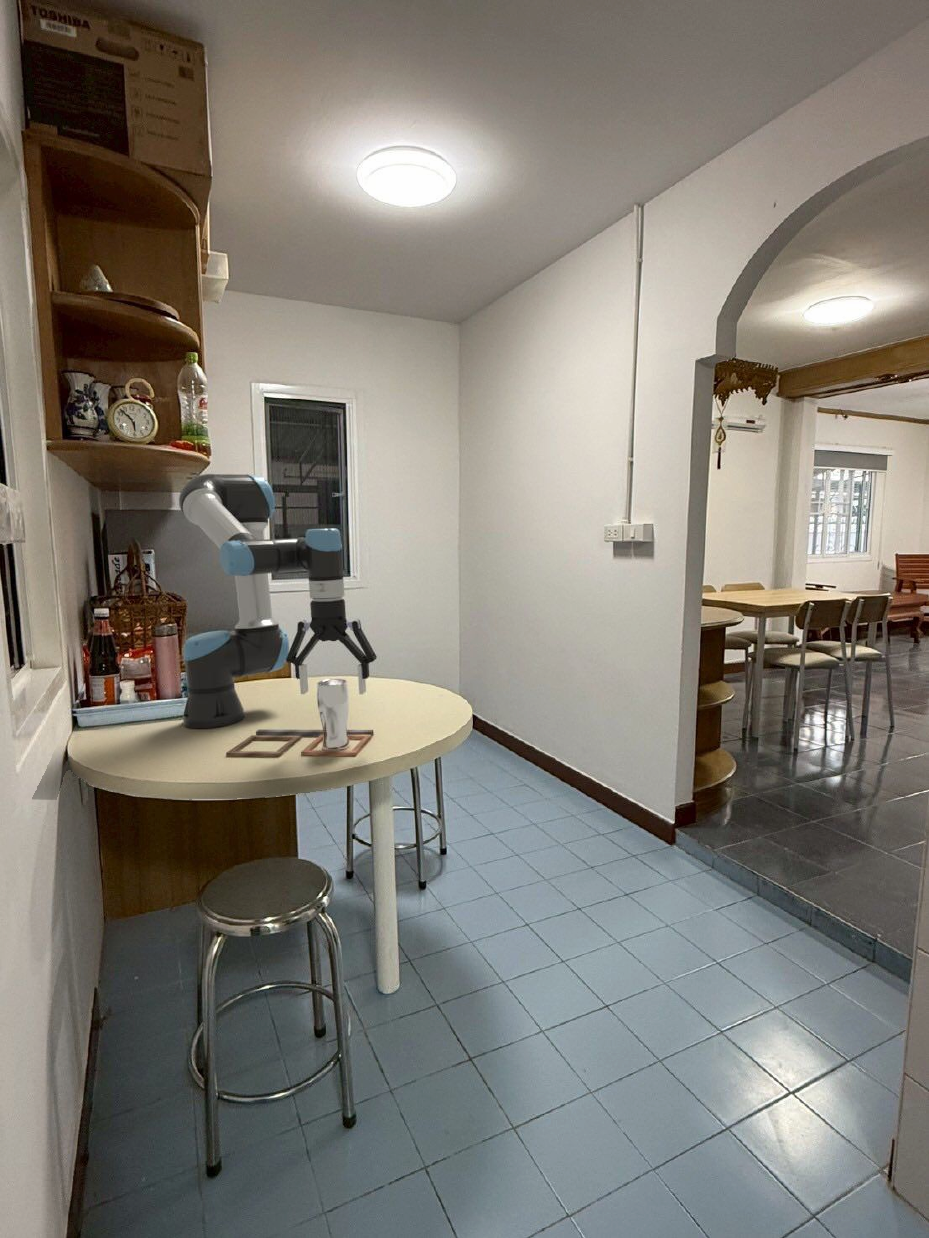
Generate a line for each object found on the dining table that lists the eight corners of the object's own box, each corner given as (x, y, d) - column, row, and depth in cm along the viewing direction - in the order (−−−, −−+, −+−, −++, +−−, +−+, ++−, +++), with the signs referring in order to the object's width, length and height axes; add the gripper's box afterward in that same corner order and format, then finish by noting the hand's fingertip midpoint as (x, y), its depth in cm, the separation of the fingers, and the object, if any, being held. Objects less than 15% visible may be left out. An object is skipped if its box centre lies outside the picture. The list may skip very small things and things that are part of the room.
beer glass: (336, 739, 154) (332, 677, 152) (358, 744, 150) (354, 680, 148) (314, 748, 148) (309, 683, 146) (335, 753, 144) (331, 687, 142)
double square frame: (226, 756, 145) (225, 751, 145) (258, 734, 161) (257, 729, 161) (354, 757, 141) (353, 752, 141) (374, 734, 157) (374, 729, 156)
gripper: (266, 602, 143) (273, 696, 146) (377, 600, 139) (382, 697, 142) (280, 598, 150) (287, 688, 153) (386, 596, 146) (391, 688, 149)
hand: (333, 692), depth 147 cm, fingers open, 13 cm apart
